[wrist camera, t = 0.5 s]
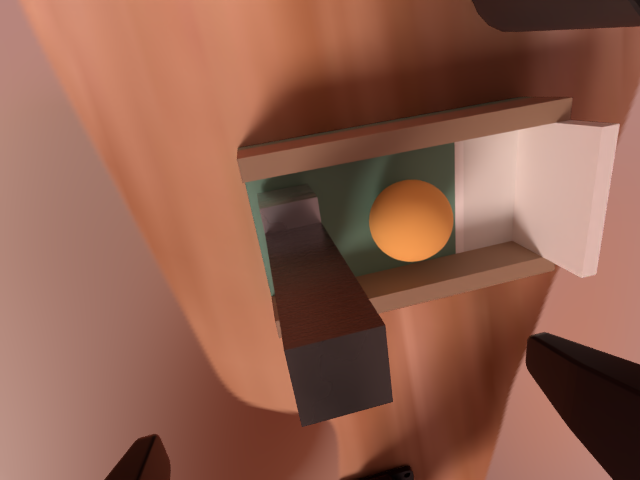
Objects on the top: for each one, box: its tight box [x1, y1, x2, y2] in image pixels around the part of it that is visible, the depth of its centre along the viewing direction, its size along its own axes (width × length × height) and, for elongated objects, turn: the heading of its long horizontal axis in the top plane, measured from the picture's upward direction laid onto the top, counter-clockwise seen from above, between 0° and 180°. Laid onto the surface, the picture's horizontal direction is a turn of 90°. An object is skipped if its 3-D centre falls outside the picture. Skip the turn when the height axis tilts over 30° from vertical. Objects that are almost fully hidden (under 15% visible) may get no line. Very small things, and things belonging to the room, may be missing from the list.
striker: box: [257, 184, 393, 427], centre depth 14 cm, size 5×2×11 cm, turn 8°
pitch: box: [237, 97, 620, 338], centre depth 18 cm, size 9×15×6 cm, turn 98°
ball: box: [369, 180, 453, 262], centre depth 18 cm, size 4×4×4 cm
